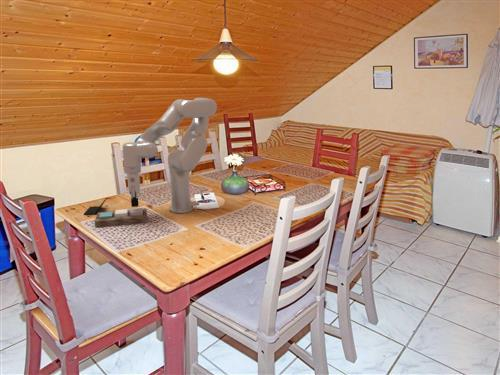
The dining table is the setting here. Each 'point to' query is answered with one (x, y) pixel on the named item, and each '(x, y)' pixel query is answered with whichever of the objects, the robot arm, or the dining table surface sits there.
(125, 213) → the cream key
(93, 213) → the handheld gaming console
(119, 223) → the key panel
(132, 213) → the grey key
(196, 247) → the dining table surface
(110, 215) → the teal square block
